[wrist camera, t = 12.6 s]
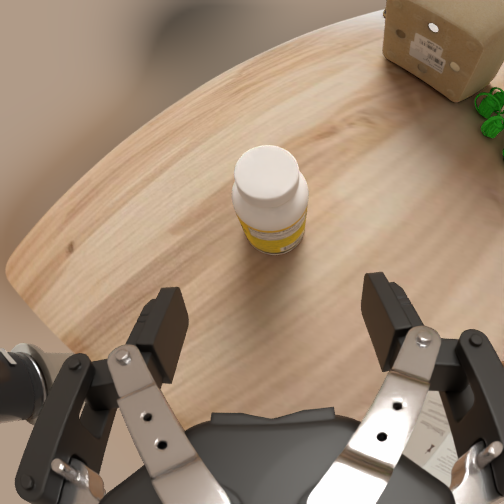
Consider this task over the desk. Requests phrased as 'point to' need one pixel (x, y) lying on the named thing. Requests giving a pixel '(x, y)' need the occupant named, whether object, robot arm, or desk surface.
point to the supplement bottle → (270, 199)
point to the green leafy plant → (486, 109)
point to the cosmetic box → (432, 440)
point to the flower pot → (447, 42)
